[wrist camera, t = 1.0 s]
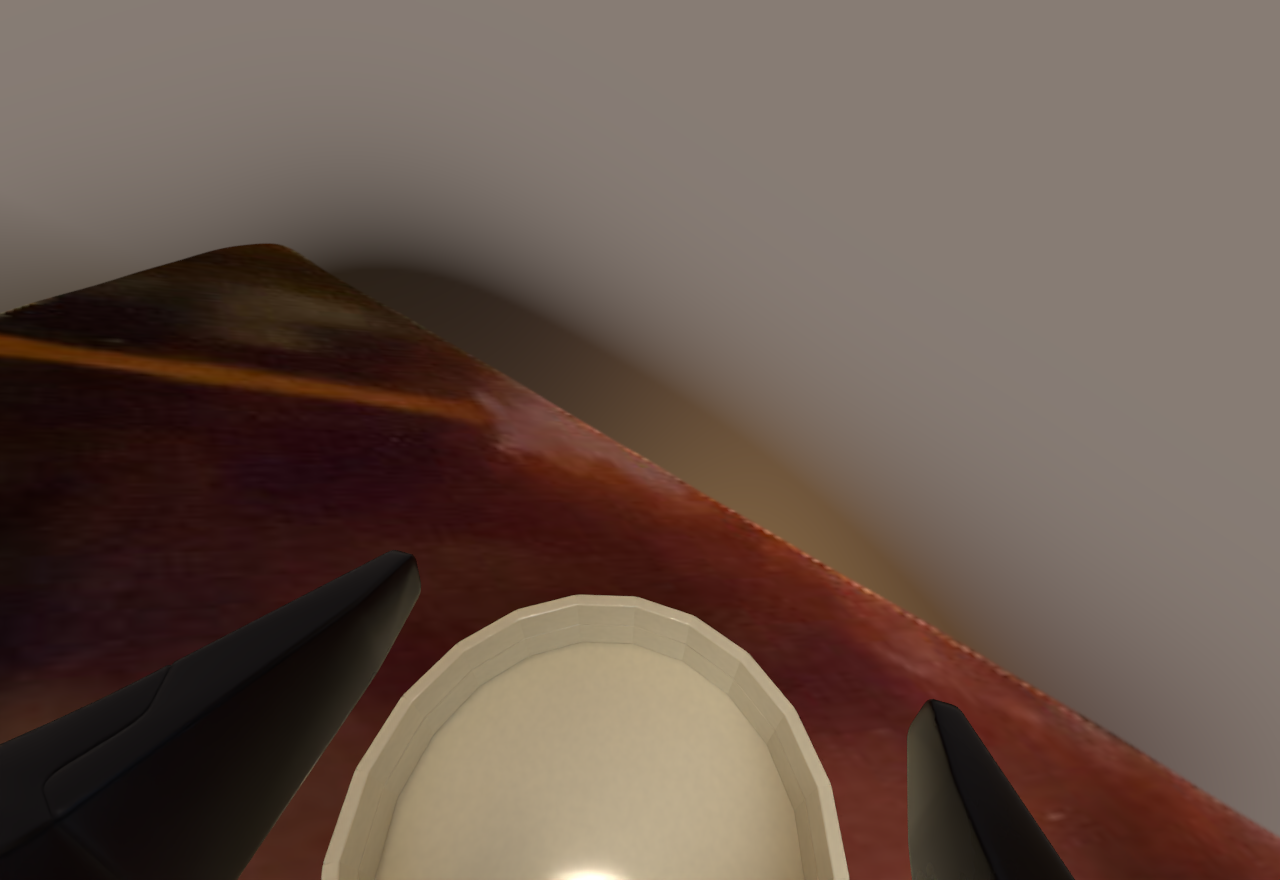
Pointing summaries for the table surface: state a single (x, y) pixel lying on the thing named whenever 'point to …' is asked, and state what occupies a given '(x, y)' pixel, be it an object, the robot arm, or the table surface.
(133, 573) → the table surface
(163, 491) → the table surface
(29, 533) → the table surface
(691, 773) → the pan
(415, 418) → the table surface
